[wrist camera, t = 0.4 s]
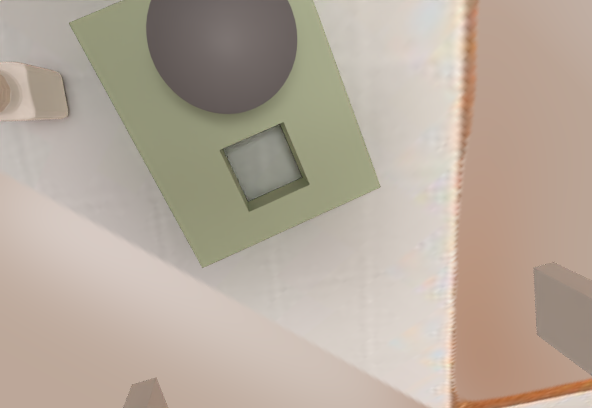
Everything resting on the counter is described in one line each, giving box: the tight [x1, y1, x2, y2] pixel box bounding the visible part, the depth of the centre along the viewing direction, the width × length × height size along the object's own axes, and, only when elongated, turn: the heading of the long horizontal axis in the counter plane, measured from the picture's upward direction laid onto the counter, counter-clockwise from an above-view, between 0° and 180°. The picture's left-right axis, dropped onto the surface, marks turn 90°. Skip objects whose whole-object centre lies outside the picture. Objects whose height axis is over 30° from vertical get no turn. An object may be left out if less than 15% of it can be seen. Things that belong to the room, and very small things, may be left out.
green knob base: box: [69, 0, 380, 268], centre depth 31 cm, size 22×18×9 cm
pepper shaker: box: [0, 62, 68, 121], centre depth 28 cm, size 4×4×10 cm
